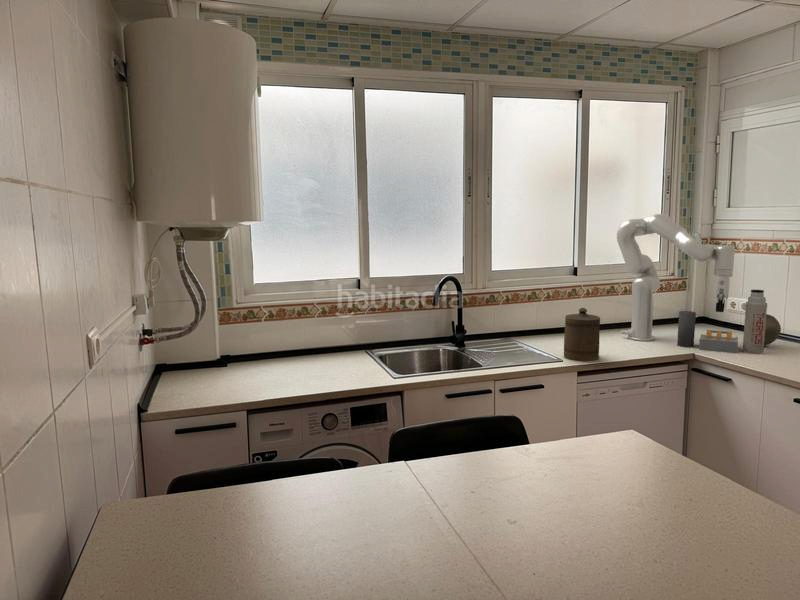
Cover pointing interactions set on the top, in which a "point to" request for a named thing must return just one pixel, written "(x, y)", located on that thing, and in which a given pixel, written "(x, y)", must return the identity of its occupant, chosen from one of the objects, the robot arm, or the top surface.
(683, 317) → the dark gray cylinder
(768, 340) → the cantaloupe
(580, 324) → the wooden container
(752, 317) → the thermos bottle
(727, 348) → the breaker box
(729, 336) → the breaker paddles
